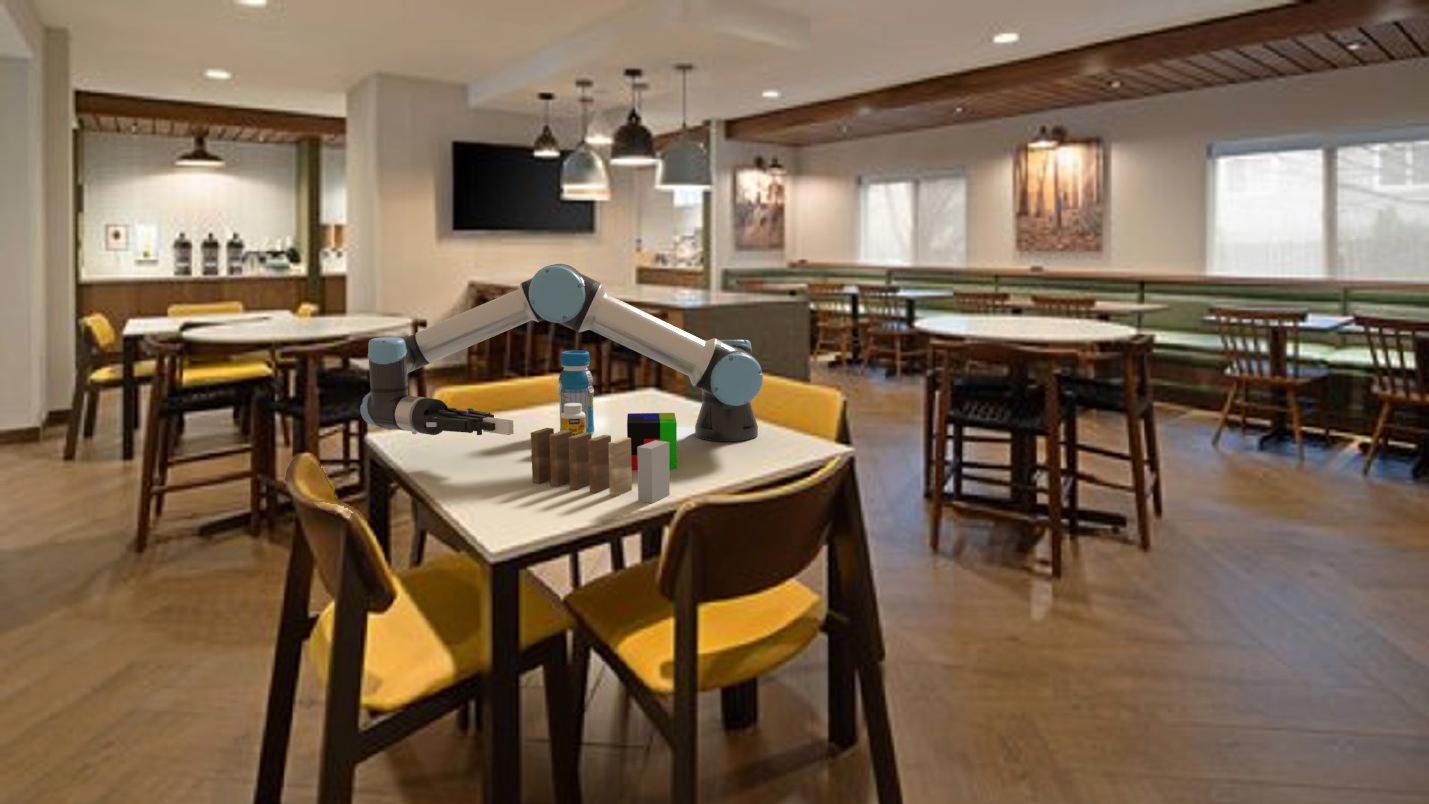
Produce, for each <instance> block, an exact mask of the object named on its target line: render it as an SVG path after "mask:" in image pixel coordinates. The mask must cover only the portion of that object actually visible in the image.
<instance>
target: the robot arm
mask: <svg viewBox="0 0 1429 804" xmlns="http://www.w3.org/2000/svg"><path fill="white" fill-rule="evenodd" d="M531 321H535V322H537V323H539V322H541V321H547V322H551V323H554V324H555V323H556V324H559V325H562V326H564V327H567V328H569V329H571V330H573V331H575V332H578V333H582V332H586V331H592V332H593V333H596V334H598V335H600V336H603V337H604V338H607V339H609V340H611V341H613V342H614V343H617V344H619V345H621V346H624V347H626V348H627V349H629V350H633V351H634V352H637V353H638V354H641V355H643V356H646V357H647V358H649V359H652V360H654V361H655V362H658V363H660V364H661V365H664V366H666V367H668V368H671V369H673V370H674V371H677V372H680V373H681V374H683V375H686V376H687V377H688V378H689V380H690V382H691V385H692V386H693V387H695V388H697V389H699V390H701V392H702V393H701V396H702V399H701V401H702V403H701V406H700V410H699V413H698V416H697V419H696V422H695V426H694V435H695V437H697V438H699V439H703V440H706V441H714V442H739V441H740V442H741V441H748V440H752V439H754V438H757V437H758V435H759V425H758V422H757V419H756V417H755V413H754V409H753V406H752V401H753V400H754V399H755V398H756V397H757V396H758V394H759V393H760V391H761V389H762V387H763V382H764V375H763V370H762V367H761V365H760V363H759V361H758V360H757V359H756V357H754V356H752V353H753V349H752V343H751V341H750V340H748V339H718V338H715V337H713V338H711V339H709V340H704V339H702V338H699V337H698V336H695V335H694V334H691V333H690V332H687V331H685V330H683V329H681V328H679V327H677V326H674V325H673V324H671V323H668V322H667V321H664V320H662V319H660V318H658V317H656V316H654V315H652V314H650V313H647V312H646V311H644V310H641V309H639V308H637V307H635V306H633V305H630V304H629V303H627V302H625V301H622V300H620V299H618V298H616V297H614V296H612V295H610V294H608V293H607V292H606V290H605V287H604V285H603V283H601V282H599V281H597V280H595V279H593V278H592V277H589V276H587V275H585V274H582V273H581V272H580V271H578V269H576V268H575V267H573V266H571V265H568V264H566V263H565V264H564V263H556V264H550V265H546V266H543V267H542V268H541V269H539V270H538V271H537V272H536V273H534V276H533V277H531V278H529V279H527V280H525V281H522V282H521V283H519V285H518V288H517V289H515V290H513V291H511V292H509V293H506V294H503V295H501V296H499V297H497V298H495V299H492V300H489V301H487V302H485V303H483V304H480V305H477V306H475V307H473V308H471V309H468V310H466V311H464V312H461V313H459V314H457V315H454V316H453V317H450V318H448V319H445V320H443V321H441V322H438V323H436V324H434V325H432V326H428V327H427V328H425V329H422V330H420V331H417V332H416V333H413V334H410V335H407V336H405V337H402V338H401V337H399V336H398V337H396V336H385V337H383V336H382V337H375V338H372V339H369V341H368V351H367V352H368V353H367V358H368V368H369V369H368V371H369V383H370V384H369V385H370V392H368V393H367V394H366V395H365V396H364V397H363V398H362V402H361V405H360V409H359V410H360V414H361V417H362V419H363V421H365V422H366V423H367V424H368V425H371V426H375V427H379V428H380V429H381V428H382V429H390V430H398V431H399V430H400V431H405V432H412V433H411V434H412V435H417V434H419V433H420V434H424V435H429V436H437V435H440V434H441V433H443V432H451V433H452V432H453V433H454V432H456V433H468V434H472V433H474V432H476V435H477V436H482V435H483V432H484V433H485V432H486V433H490V434H492V433H493V434H499V435H505V436H511V435H513V434H514V433H515V432H514V420H513V419H512V420H511V419H506V418H505V419H504V418H499V417H498V418H497V417H495V415H494V414H492V413H491V412H485V411H480V410H475V409H473V408H470V407H469V408H466V410H461V409H457V408H454V407H448V405H447V404H446V402H444V401H443V400H441V399H438V398H429V397H426V396H425V397H424V396H415V395H414V396H413V395H409V390H408V389H409V385H408V383H409V382H408V374H410V373H411V372H413V371H415V370H418V369H420V368H423V367H425V366H428V365H429V364H432V363H434V362H437V361H438V360H440V359H443V358H447V357H448V356H450V355H453V354H455V353H458V352H461V351H462V350H464V349H467V348H469V347H471V346H474V345H476V344H479V343H481V342H483V341H485V340H488V339H490V338H493V337H495V336H498V335H500V334H502V333H504V332H507V331H509V330H511V329H514V328H517V327H518V326H521V325H523V324H526V323H529V322H531Z"/></svg>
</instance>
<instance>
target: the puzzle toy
mask: <svg viewBox="0 0 1429 804" xmlns="http://www.w3.org/2000/svg"><path fill="white" fill-rule="evenodd" d="M626 419H627V420H626V434H627V435H626V438H631V468H632V472H635V471H637V472H638V452H637V447H639V446H641V445H644V444H647V443H649V442H652V441H655V440H657V441H665V442H669V471H672V470H673V471H677V470H678V464H677V463H678V460H677V459H678V457H677V455H678V453H677V452H678V451H677V450H678V449H677V448H678V447H677V446H678V443H677V439H678V438H677V437H678V436H677V433H678V432H677V431H678V430H677V417H676V413H675V412H641V413H639V412H638V413H637V412H636V413H634V412H633V413H632V412H630V413H627V418H626Z"/></svg>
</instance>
